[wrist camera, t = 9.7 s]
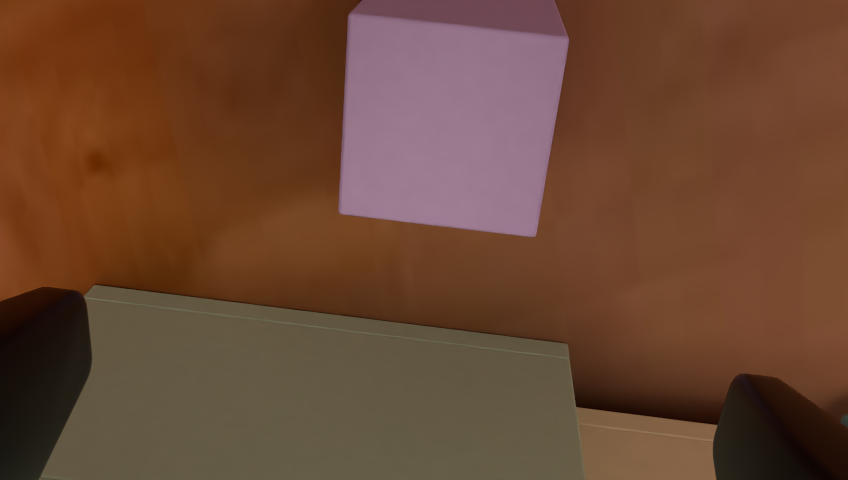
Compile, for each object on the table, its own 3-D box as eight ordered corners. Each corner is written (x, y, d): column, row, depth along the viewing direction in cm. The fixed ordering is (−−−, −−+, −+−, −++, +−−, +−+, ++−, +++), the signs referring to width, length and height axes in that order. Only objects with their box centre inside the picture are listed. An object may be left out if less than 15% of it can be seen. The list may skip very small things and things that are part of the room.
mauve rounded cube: (554, -4, 19) (570, 37, 15) (528, 161, 21) (535, 239, 17) (381, -23, 20) (347, 12, 15) (370, 142, 21) (337, 215, 17)
